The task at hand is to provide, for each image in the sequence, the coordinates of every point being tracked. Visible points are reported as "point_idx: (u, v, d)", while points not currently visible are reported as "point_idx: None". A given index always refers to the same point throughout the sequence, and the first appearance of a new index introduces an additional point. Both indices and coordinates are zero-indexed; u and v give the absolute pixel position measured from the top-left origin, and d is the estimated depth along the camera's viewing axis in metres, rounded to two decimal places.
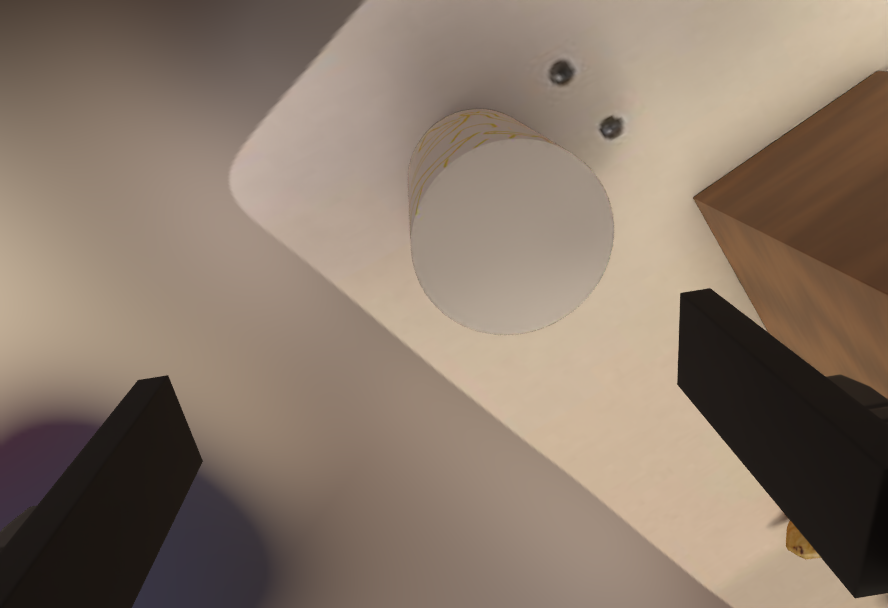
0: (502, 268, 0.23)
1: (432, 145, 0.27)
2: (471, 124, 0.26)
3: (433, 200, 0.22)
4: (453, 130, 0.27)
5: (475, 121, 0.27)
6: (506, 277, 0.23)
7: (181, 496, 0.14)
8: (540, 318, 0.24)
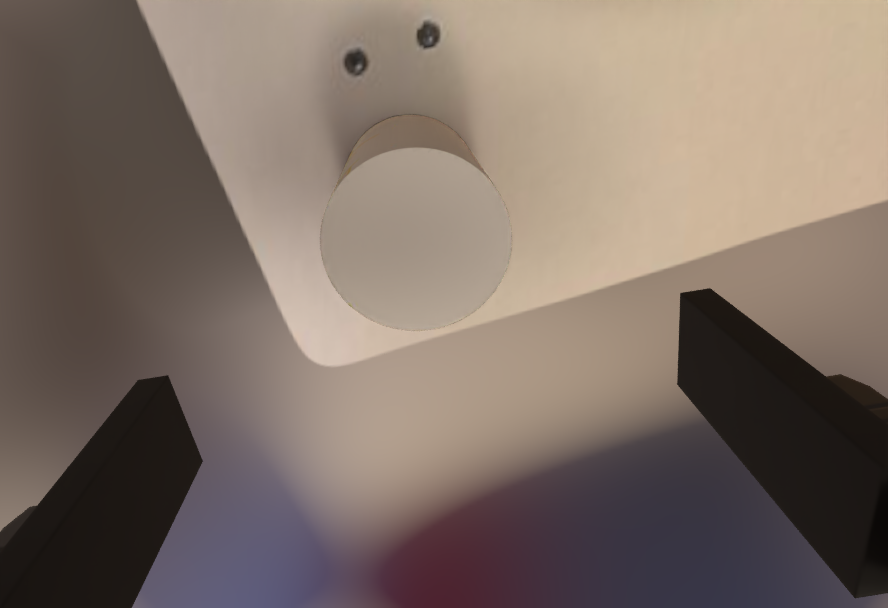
0: (434, 263, 0.24)
1: None
2: None
3: (346, 289, 0.25)
4: None
5: None
6: (443, 264, 0.24)
7: (181, 496, 0.14)
8: (499, 253, 0.24)
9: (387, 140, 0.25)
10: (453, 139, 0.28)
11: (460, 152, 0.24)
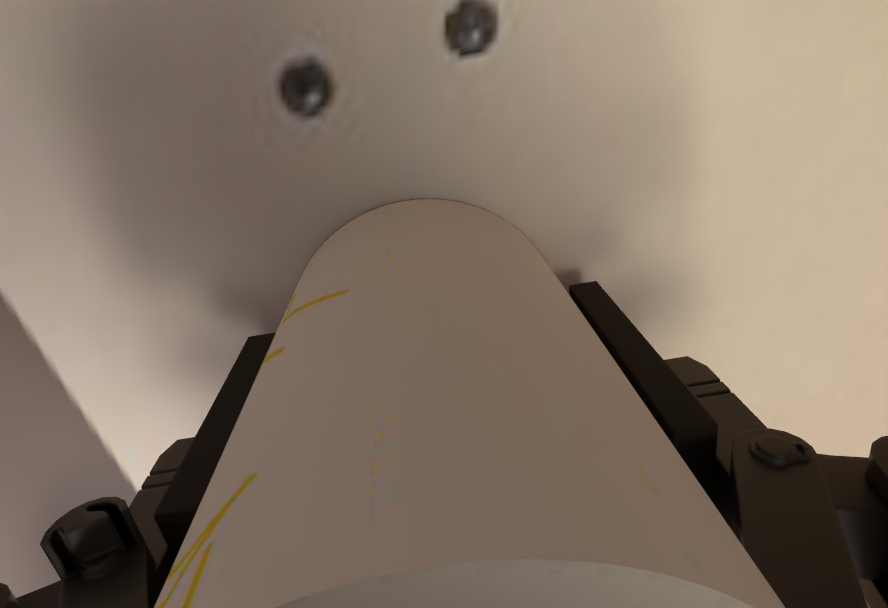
0: None
1: None
2: None
3: None
4: None
5: None
6: None
7: None
8: None
9: (365, 378, 0.07)
10: (555, 310, 0.10)
11: (637, 453, 0.06)
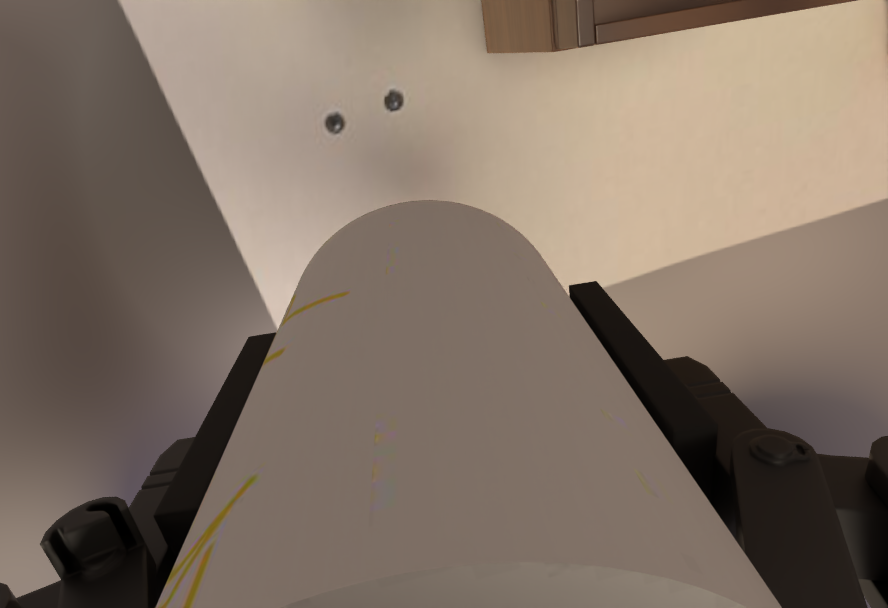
0: None
1: None
2: None
3: None
4: None
5: None
6: None
7: None
8: None
9: (365, 381, 0.07)
10: (554, 312, 0.10)
11: (636, 455, 0.06)
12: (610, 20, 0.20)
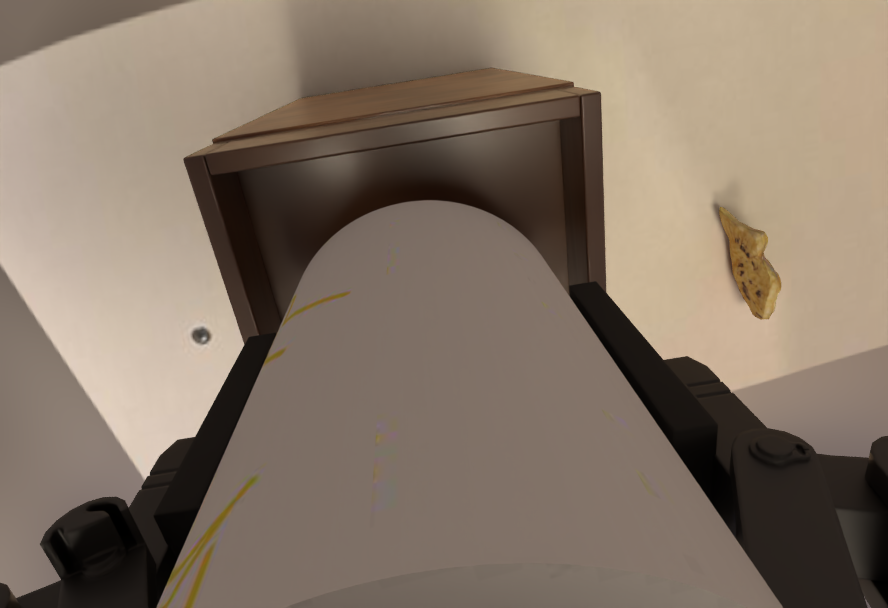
0: None
1: None
2: None
3: None
4: None
5: None
6: None
7: None
8: None
9: (366, 381, 0.07)
10: (555, 312, 0.10)
11: (638, 456, 0.06)
12: None
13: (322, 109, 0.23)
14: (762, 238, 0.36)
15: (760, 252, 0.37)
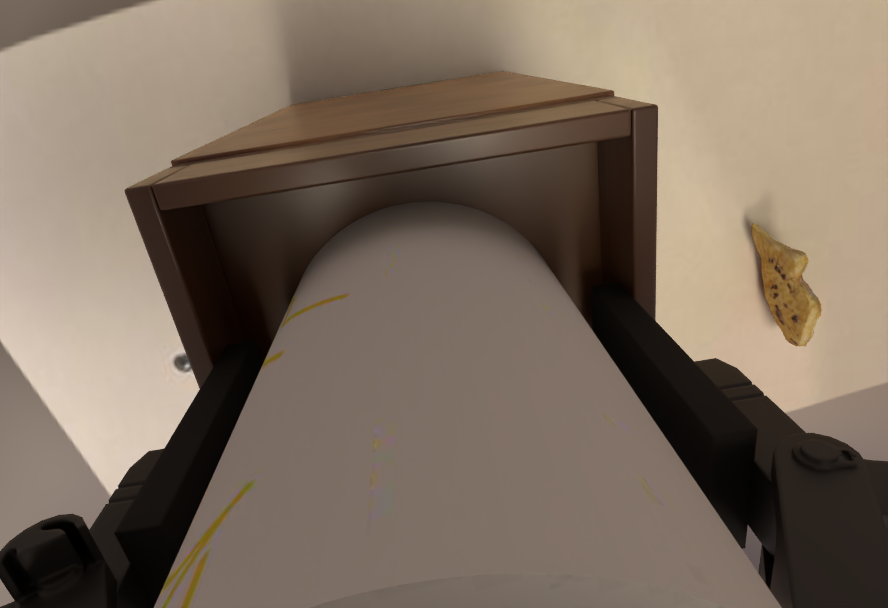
0: None
1: None
2: None
3: None
4: None
5: None
6: None
7: None
8: None
9: (364, 385, 0.07)
10: (556, 315, 0.10)
11: (639, 462, 0.06)
12: None
13: (310, 120, 0.20)
14: (802, 259, 0.32)
15: (798, 274, 0.33)
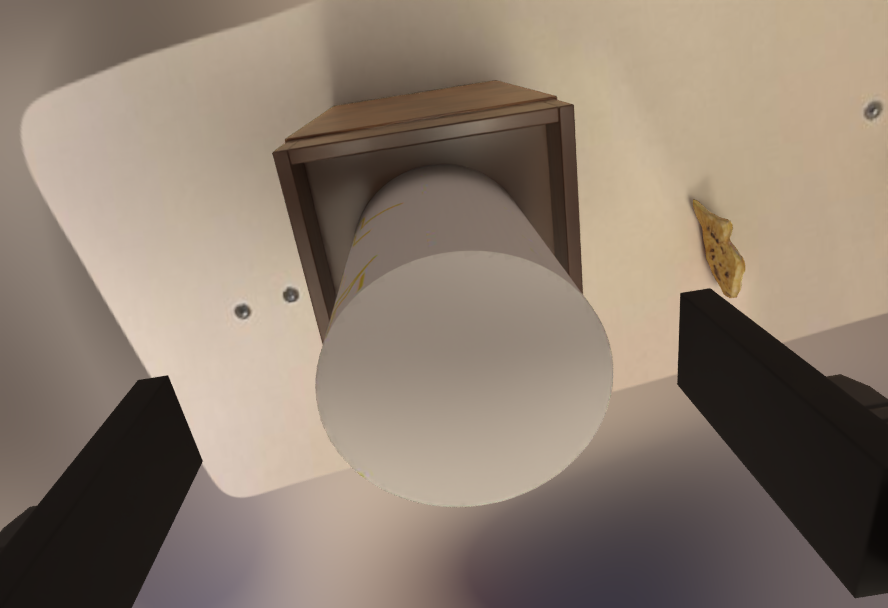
0: (491, 416, 0.16)
1: None
2: None
3: (356, 453, 0.16)
4: None
5: None
6: (505, 417, 0.16)
7: (181, 496, 0.14)
8: (591, 400, 0.16)
9: (419, 223, 0.17)
10: (510, 211, 0.19)
11: (532, 246, 0.16)
12: None
13: (361, 116, 0.30)
14: (727, 225, 0.41)
15: (726, 238, 0.42)
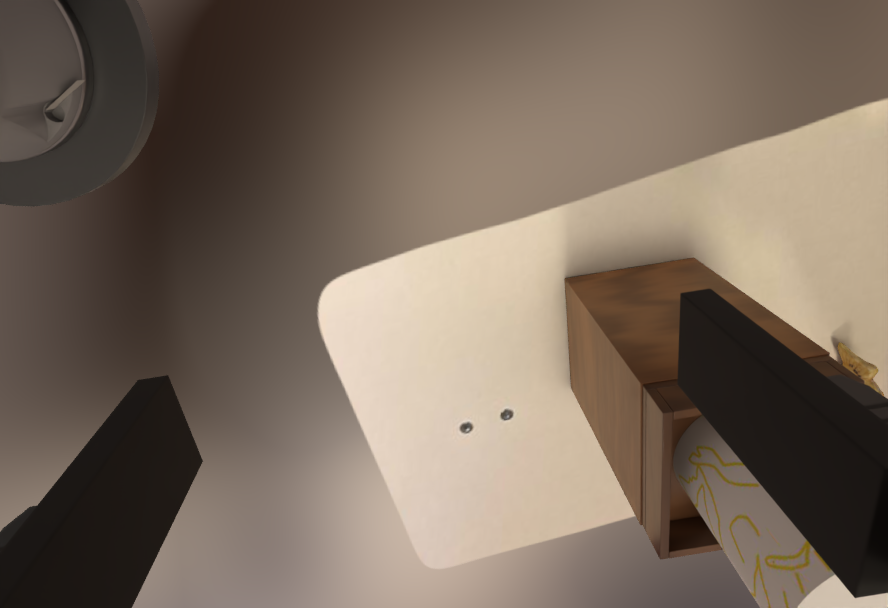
0: None
1: (715, 531, 0.32)
2: (728, 514, 0.31)
3: None
4: (719, 519, 0.32)
5: (724, 501, 0.31)
6: None
7: (181, 496, 0.14)
8: None
9: None
10: None
11: None
12: (672, 520, 0.39)
13: (652, 336, 0.40)
14: (874, 370, 0.52)
15: (871, 377, 0.53)
